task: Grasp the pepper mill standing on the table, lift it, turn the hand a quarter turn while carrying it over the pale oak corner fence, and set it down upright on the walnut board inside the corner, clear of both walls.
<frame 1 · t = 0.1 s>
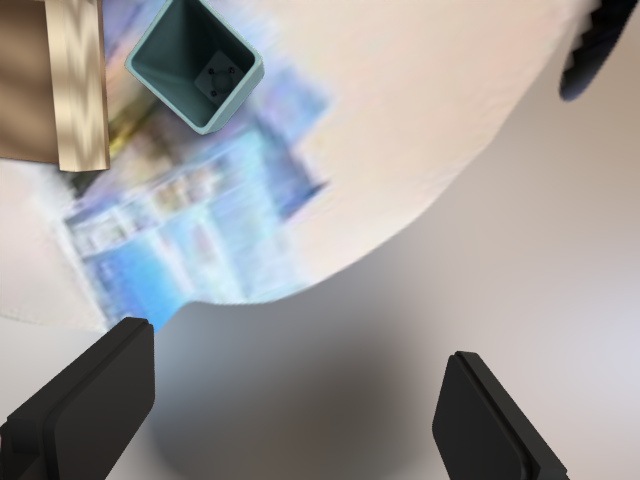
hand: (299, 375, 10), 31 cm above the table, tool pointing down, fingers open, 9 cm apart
corner fence: (24, 77, 37), resting on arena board
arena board: (24, 77, 37), on the table
flower pot: (223, 83, 37), on the table
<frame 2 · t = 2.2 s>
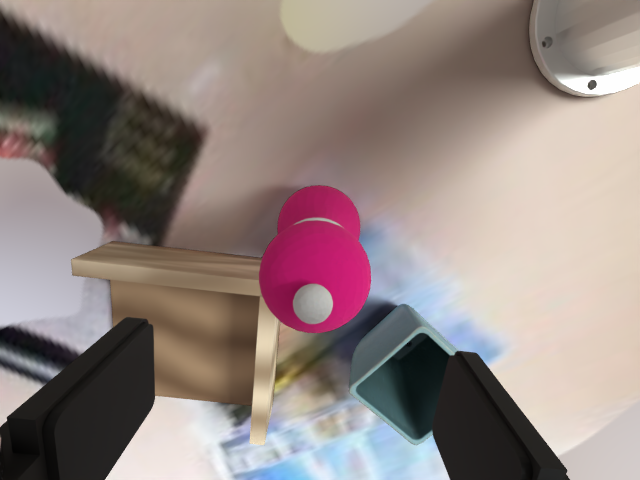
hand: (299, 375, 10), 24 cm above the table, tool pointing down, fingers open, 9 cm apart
corner fence: (198, 327, 37), resting on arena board
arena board: (198, 327, 37), on the table
pepper mill: (319, 216, 33), on the table
flower pot: (396, 331, 37), on the table
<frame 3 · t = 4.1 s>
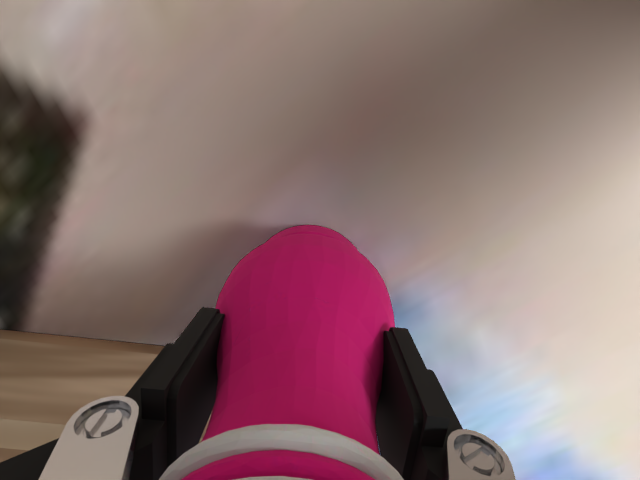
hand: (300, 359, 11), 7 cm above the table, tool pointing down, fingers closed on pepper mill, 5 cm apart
corner fence: (101, 461, 21), resting on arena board
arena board: (101, 461, 21), on the table
pepper mill: (309, 278, 18), on the table, touching gripper
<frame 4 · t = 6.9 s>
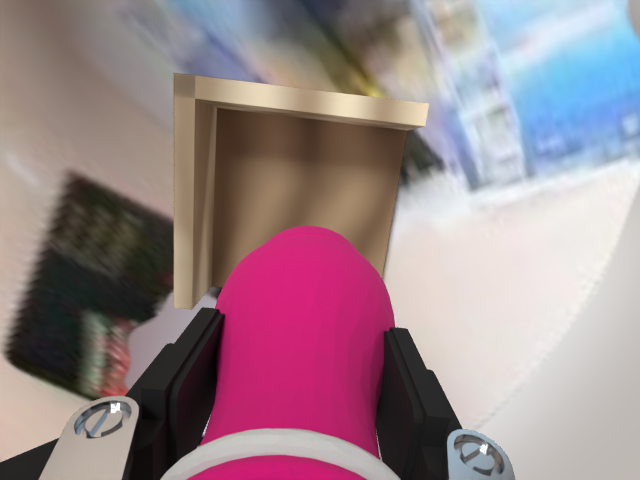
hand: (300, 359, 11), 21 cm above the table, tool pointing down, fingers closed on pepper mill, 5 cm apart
corner fence: (296, 203, 31), resting on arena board
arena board: (296, 203, 31), on the table
pepper mill: (309, 279, 18), point 14 cm above the table, touching gripper
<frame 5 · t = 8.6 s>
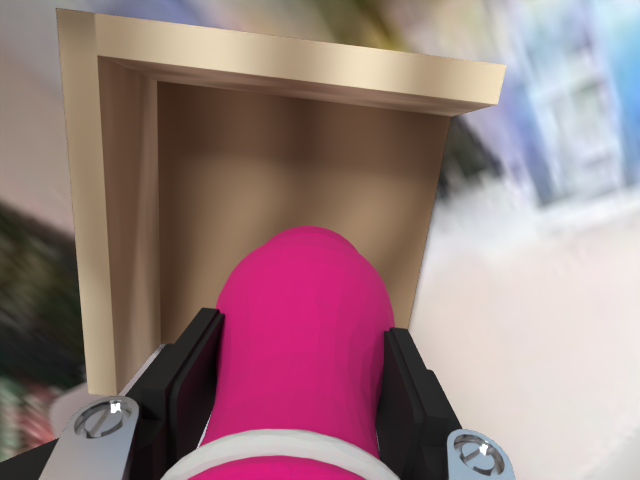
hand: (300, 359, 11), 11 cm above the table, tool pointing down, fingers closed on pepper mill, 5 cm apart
corner fence: (282, 224, 21), resting on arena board
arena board: (282, 224, 21), on the table
pepper mill: (309, 279, 18), point 4 cm above the table, touching gripper
when the fingers open (9 cm above the table, at t = 9.5 s): pepper mill stays where it is, resting on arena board.
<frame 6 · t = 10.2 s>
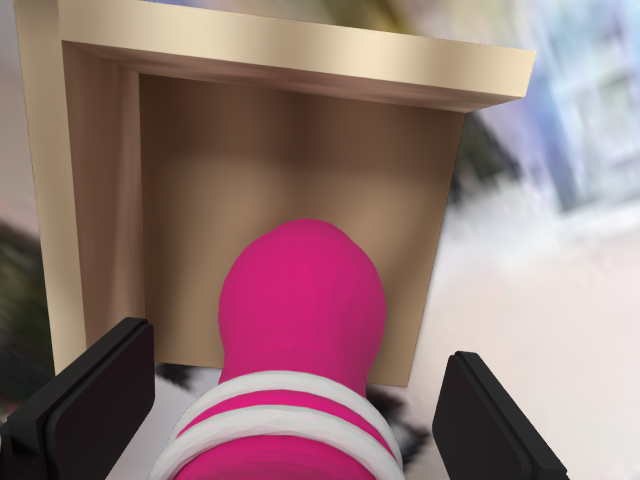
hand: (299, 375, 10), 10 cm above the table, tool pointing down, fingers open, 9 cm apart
corner fence: (279, 232, 19), resting on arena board
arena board: (279, 232, 19), on the table
pepper mill: (307, 270, 19), point 1 cm above the table, touching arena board
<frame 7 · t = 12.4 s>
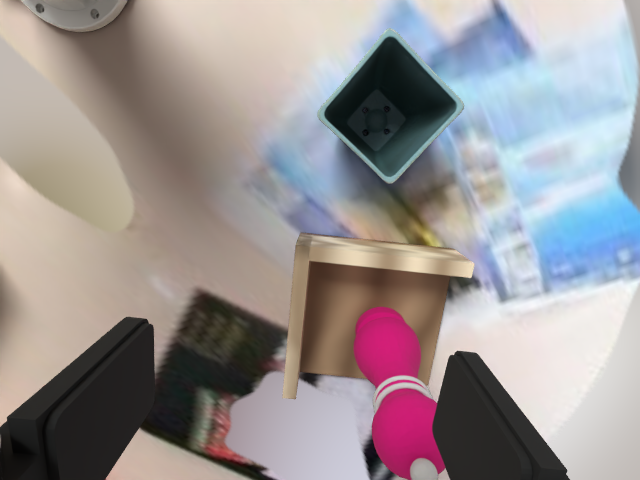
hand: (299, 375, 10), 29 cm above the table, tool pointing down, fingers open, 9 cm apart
corner fence: (366, 310, 41), resting on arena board
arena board: (366, 310, 41), on the table
pepper mill: (380, 328, 41), point 1 cm above the table, touching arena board
flower pot: (375, 122, 36), on the table
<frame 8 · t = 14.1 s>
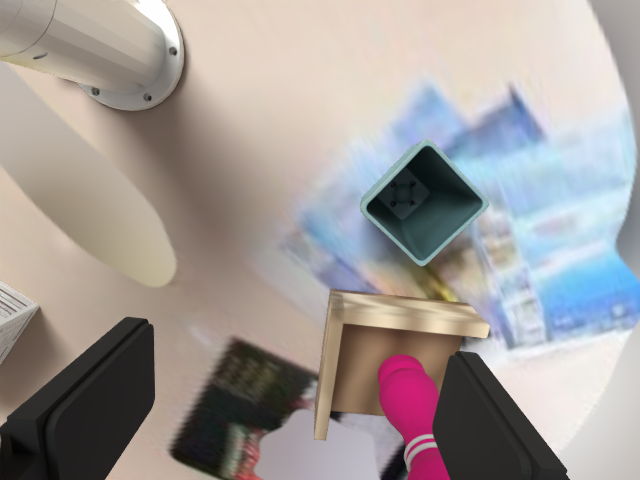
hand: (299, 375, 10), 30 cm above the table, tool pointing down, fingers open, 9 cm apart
corner fence: (387, 356, 45), resting on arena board
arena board: (387, 356, 45), on the table
pepper mill: (400, 372, 45), point 1 cm above the table, touching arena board
flower pot: (401, 194, 39), on the table
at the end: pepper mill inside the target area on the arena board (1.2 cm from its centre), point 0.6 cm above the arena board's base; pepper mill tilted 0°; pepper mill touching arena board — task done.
